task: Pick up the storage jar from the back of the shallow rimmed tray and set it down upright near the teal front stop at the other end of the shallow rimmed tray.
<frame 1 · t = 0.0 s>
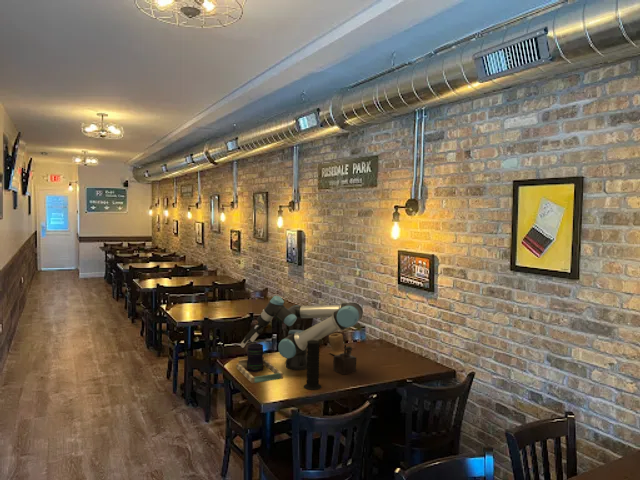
hand: (246, 343, 293), 15 cm above the table, tool tilted 35°, fingers open, 13 cm apart
handle grip: (312, 387, 264), on the table
storage jar: (255, 370, 291), resting in shallow rimmed tray
dark boxy piece: (346, 372, 289), on the table
shallow rimmed tray: (259, 373, 285), on the table
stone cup: (338, 355, 323), on the table
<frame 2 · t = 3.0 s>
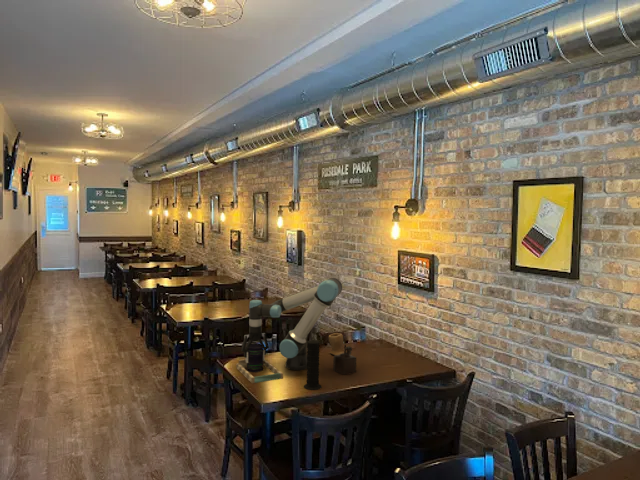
hand: (255, 361, 291), 5 cm above the table, tool pointing down, fingers closed on storage jar, 10 cm apart
storage jar: (254, 370, 291), resting in shallow rimmed tray, touching gripper
everything else where it was.
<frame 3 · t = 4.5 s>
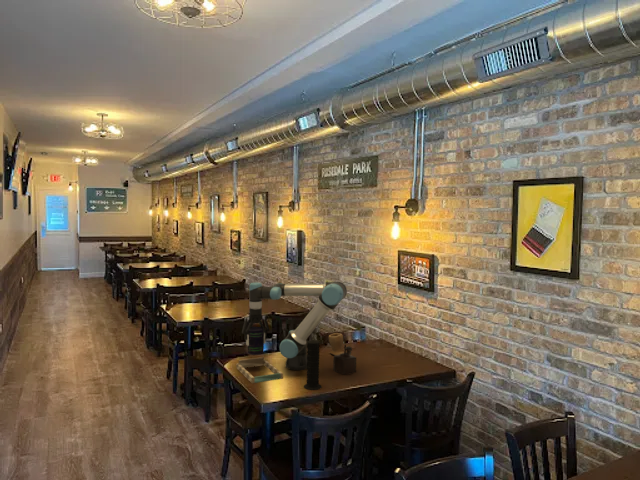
hand: (255, 344, 290), 16 cm above the table, tool pointing down, fingers closed on storage jar, 10 cm apart
storage jar: (255, 352, 290), point 11 cm above the table, touching gripper
everything else where it was.
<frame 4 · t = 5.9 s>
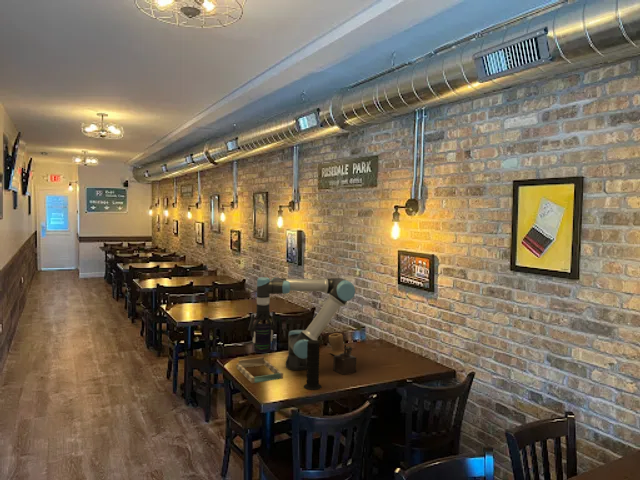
hand: (262, 341, 278), 21 cm above the table, tool pointing down, fingers closed on storage jar, 10 cm apart
storage jar: (262, 350, 279), point 15 cm above the table, touching gripper
everything else where it was.
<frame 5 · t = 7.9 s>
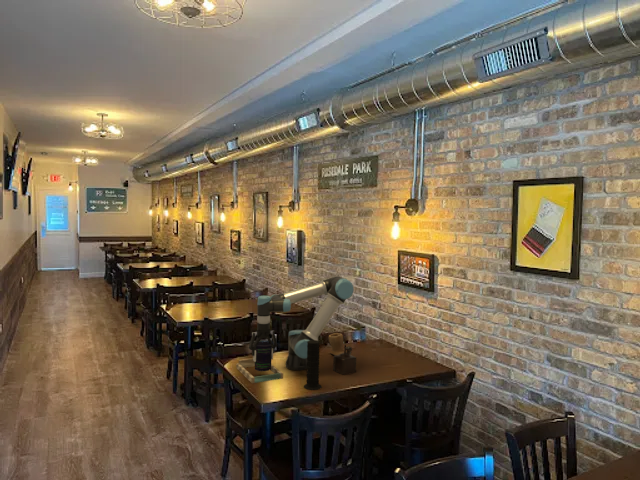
hand: (263, 359, 278), 10 cm above the table, tool pointing down, fingers closed on storage jar, 10 cm apart
storage jar: (262, 369, 278), point 5 cm above the table, touching gripper
everything else where it was.
when the fingers open (7 cm above the table, at t = 9.2 s): storage jar drops 1 cm, resting in shallow rimmed tray.
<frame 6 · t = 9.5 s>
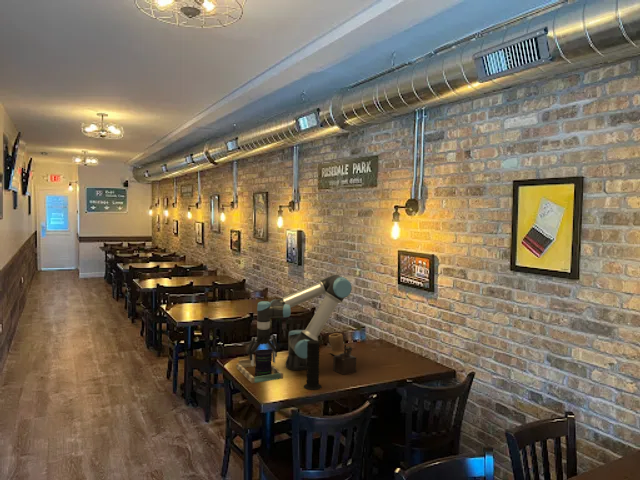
hand: (263, 363, 278), 8 cm above the table, tool pointing down, fingers open, 13 cm apart
storage jar: (263, 377, 279), resting in shallow rimmed tray
everything else where it was.
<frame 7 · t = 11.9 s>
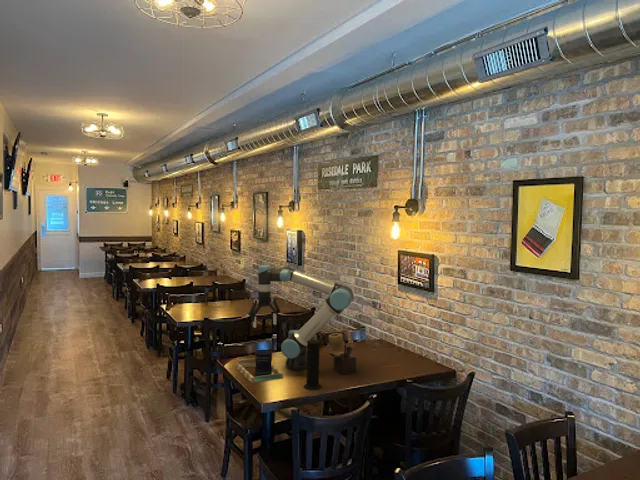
hand: (264, 325, 287), 28 cm above the table, tool pointing down, fingers open, 13 cm apart
nothing on the table moved.
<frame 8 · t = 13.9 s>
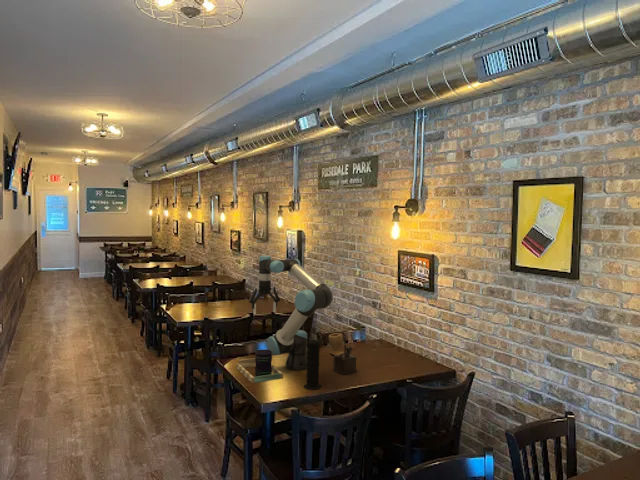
hand: (264, 313, 301), 33 cm above the table, tool pointing down, fingers open, 13 cm apart
nothing on the table moved.
at the end: storage jar 0.9 cm from the target spot on the shallow rimmed tray, point 0.0 cm above the shallow rimmed tray's base; storage jar tilted 0°; the gripper is holding nothing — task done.
